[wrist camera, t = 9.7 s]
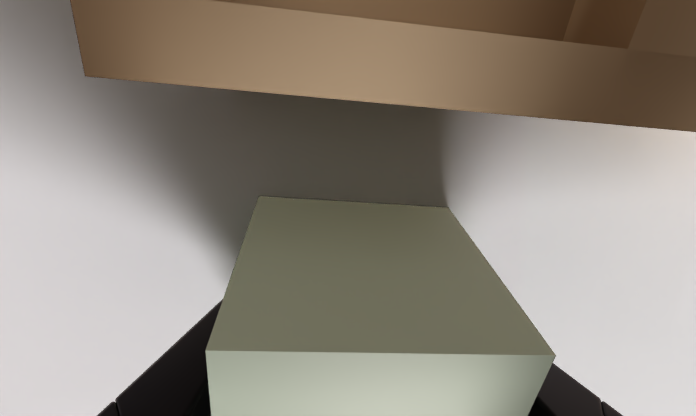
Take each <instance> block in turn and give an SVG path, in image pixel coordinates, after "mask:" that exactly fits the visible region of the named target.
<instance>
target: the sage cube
mask: <svg viewBox="0 0 696 416" xmlns="http://www.w3.org/2000/svg"><path fill="white" fill-rule="evenodd" d="M205 352H206V363H207V374H208V385H209V396H210V407H211V416H528V414H529V412H530V409H531V407H532V405H533V403H534V401H535V399H536V397H537V395H538V393H539V390H540V388H541V386H542V384H543V382H544V380H545V378H546V376H547V373H548V371H549V369H550V367H551V365H552V363H553V361H554V359H555V356H556V355H555V354H554V352H553V351H552V349H551V348H550V347H549V345H548V344H547V343H546V341H545V340H544V338H543V337H542V336H541V334H540V333H539V332H538V330H537V329H536V327H535V326H534V325H533V323H532V322H531V321H530V319H529V318H528V316H527V315H526V314H525V312H524V311H523V310H522V308H521V307H520V305H519V304H518V303H517V301H516V300H515V299H514V297H513V296H512V294H511V293H510V292H509V290H508V289H507V288H506V286H505V285H504V283H503V282H502V281H501V279H500V278H499V277H498V275H497V274H496V272H495V271H494V270H493V268H492V267H491V265H490V264H489V263H488V261H487V260H486V259H485V257H484V256H483V254H482V253H481V252H480V250H479V249H478V248H477V246H476V245H475V243H474V242H473V241H472V239H471V238H470V237H469V235H468V234H467V232H466V231H465V230H464V228H463V227H462V226H461V224H460V223H459V221H458V220H457V219H456V217H455V216H454V215H453V213H452V212H451V210H450V209H449V208H448V207H432V206H415V205H399V204H382V203H365V202H349V201H332V200H315V199H298V198H282V197H265V196H259V197H258V200H257V203H256V206H255V209H254V211H253V214H252V217H251V220H250V223H249V226H248V229H247V232H246V235H245V237H244V240H243V243H242V246H241V249H240V252H239V255H238V258H237V261H236V263H235V266H234V269H233V272H232V275H231V278H230V281H229V284H228V287H227V289H226V292H225V295H224V298H223V301H222V304H221V307H220V310H219V313H218V315H217V318H216V321H215V324H214V327H213V330H212V333H211V336H210V339H209V341H208V344H207V347H206V350H205Z"/></svg>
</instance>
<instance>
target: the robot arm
mask: <svg viewBox="0 0 696 416" xmlns="http://www.w3.org/2000/svg"><path fill="white" fill-rule="evenodd" d="M222 301H223V299H222V300H221V301H220V302H219V303H218V304H217V305H216V306H215V307H214V308H213V309H212V310H211V311H209V312H208V313H207V314H206V315H205V316H204V317H203V318H202V319H201V320H200V321H199V322H198V323H197V324H195V325H194V326H193V327H192V328H191V329H190V330H189V331H188V332H187V333H186V334H185V335H184V336H183V337H181V338H180V339H179V340H178V341H177V342H176V343H175V344H174V345H173V346H172V347H171V348H170V349H169V350H167V351H166V352H165V353H164V354H163V355H162V356H161V357H160V358H159V359H158V360H157V361H156V362H155V363H153V364H152V365H151V366H150V367H149V368H148V369H147V370H146V371H145V372H144V373H143V374H142V375H141V376H139V377H138V378H137V379H136V380H135V381H134V382H133V383H132V384H131V385H130V386H129V387H128V388H127V389H125V390H124V391H123V392H122V393H121V394H120V395H119V396H118V397H117V398H116V400H115V401H116V403H115V402H111V403H110V404H109V405H108V406H107V407H106V408H105V409H104V410H103V411H102V412H100V413H99V414H98V415H97V416H211V407H210V396H209V385H208V374H207V363H206V352H205V350H206V347H207V344H208V341H209V339H210V336H211V333H212V330H213V327H214V324H215V321H216V318H217V315H218V313H219V310H220V307H221V304H222ZM528 416H623V415H621V414H620V413H619V412H617V411H616V410H615V409H613V408H612V407H611V406H609V405H608V404H607V403H605V402H601V400H600V398H599V397H597V396H596V395H595V394H593V393H592V392H591V391H589V390H588V389H587V388H585V387H584V386H583V385H581V384H580V383H579V382H577V381H576V380H575V379H573V378H572V377H571V376H569V375H568V374H567V373H565V372H564V371H563V370H561V369H560V368H559V367H557V366H556V365H555V364H553V363H552V365H551V367H550V369H549V371H548V373H547V376H546V378H545V380H544V382H543V384H542V386H541V388H540V390H539V393H538V395H537V397H536V399H535V401H534V403H533V405H532V407H531V409H530V412H529V414H528Z"/></svg>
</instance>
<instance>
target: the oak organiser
mask: <svg viewBox="0 0 696 416" xmlns="http://www.w3.org/2000/svg"><path fill="white" fill-rule="evenodd" d="M70 2H71V7H72V12H73V17H74V22H75V27H76V33H77V38H78V43H79V48H80V53H81V58H82V63H83V68H84V73H85V76H88V77H99V78H110V79H121V80H132V81H143V82H154V83H165V84H176V85H187V86H198V87H209V88H220V89H231V90H242V91H252V92H263V93H274V94H285V95H296V96H307V97H318V98H329V99H340V100H351V101H362V102H373V103H384V104H395V105H406V106H417V107H428V108H439V109H450V110H461V111H472V112H483V113H494V114H505V115H516V116H527V117H538V118H549V119H560V120H571V121H582V122H593V123H604V124H614V125H625V126H636V127H647V128H658V129H669V130H680V131H691V132H696V0H70Z"/></svg>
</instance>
